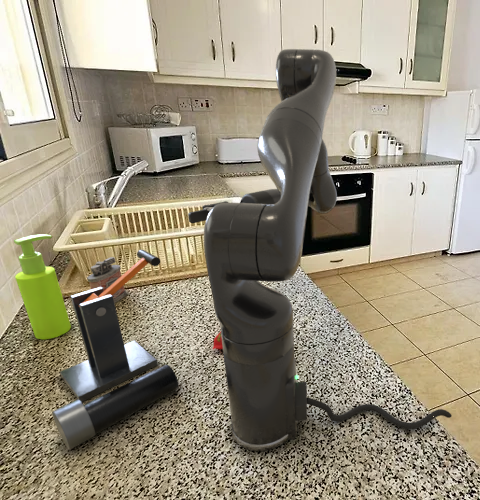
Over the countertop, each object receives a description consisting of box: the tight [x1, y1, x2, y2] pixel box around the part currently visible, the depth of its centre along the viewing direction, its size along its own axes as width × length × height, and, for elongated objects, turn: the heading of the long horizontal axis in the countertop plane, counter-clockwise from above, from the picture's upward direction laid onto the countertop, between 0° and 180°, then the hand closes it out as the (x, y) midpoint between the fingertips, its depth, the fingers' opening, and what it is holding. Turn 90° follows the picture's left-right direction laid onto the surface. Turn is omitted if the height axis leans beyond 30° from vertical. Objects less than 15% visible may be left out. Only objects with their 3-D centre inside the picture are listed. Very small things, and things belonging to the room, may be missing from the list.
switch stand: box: [59, 287, 158, 403], centre depth 62 cm, size 12×9×15 cm
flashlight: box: [51, 363, 179, 451], centre depth 55 cm, size 15×6×6 cm, turn 141°
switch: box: [79, 249, 161, 307], centre depth 63 cm, size 13×6×2 cm
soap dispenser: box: [13, 233, 72, 340], centre depth 73 cm, size 6×7×20 cm
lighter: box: [86, 256, 127, 304], centre depth 86 cm, size 8×3×10 cm, turn 168°
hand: (200, 222), depth 73 cm, fingers open, 8 cm apart
